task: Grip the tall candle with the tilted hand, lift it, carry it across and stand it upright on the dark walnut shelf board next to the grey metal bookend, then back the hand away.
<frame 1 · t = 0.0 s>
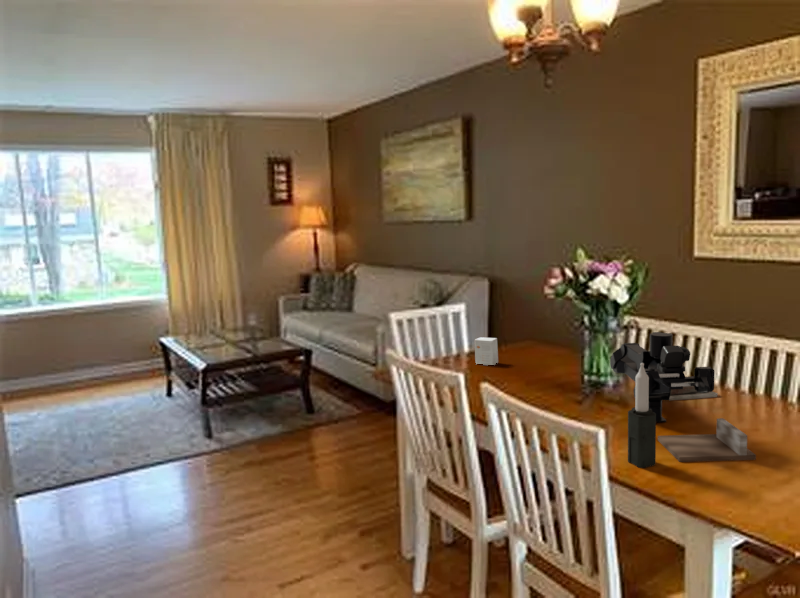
hand: (689, 389, 148), 17 cm above the table, tool horizontal, fingers open, 9 cm apart
candle: (641, 463, 146), on the table
shelf board: (704, 449, 152), on the table
small box: (486, 364, 247), on the table
packaged product: (682, 396, 196), on the table
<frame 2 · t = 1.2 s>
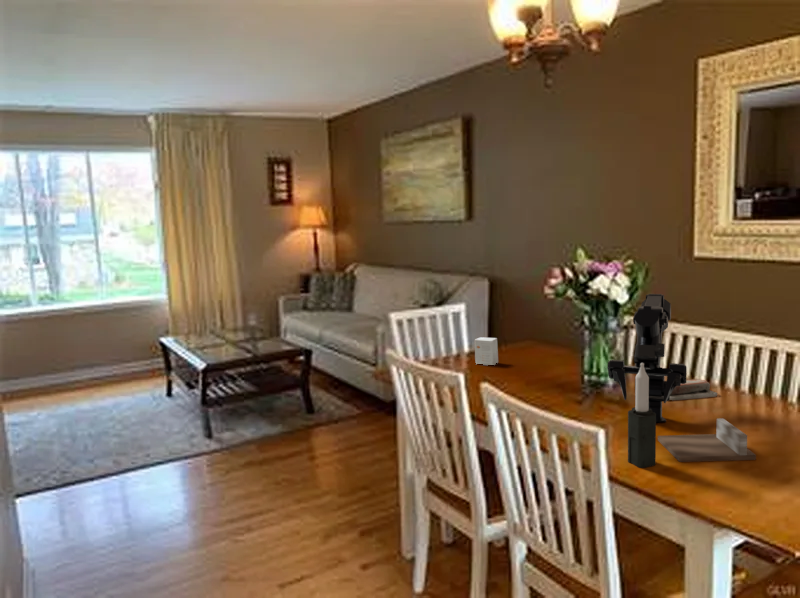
hand: (644, 400, 151), 13 cm above the table, tool tilted 45°, fingers open, 9 cm apart
nothing on the table moved.
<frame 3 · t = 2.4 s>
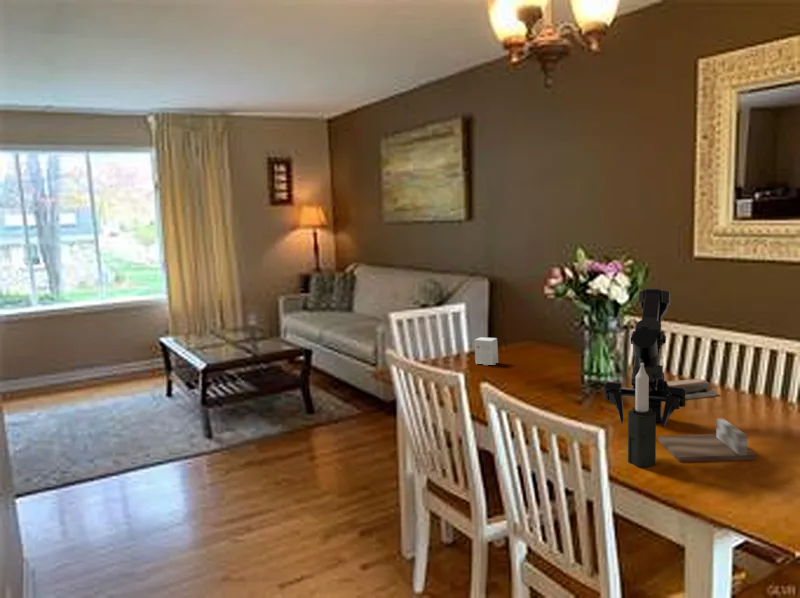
hand: (642, 424, 146), 9 cm above the table, tool tilted 45°, fingers open, 9 cm apart
nothing on the table moved.
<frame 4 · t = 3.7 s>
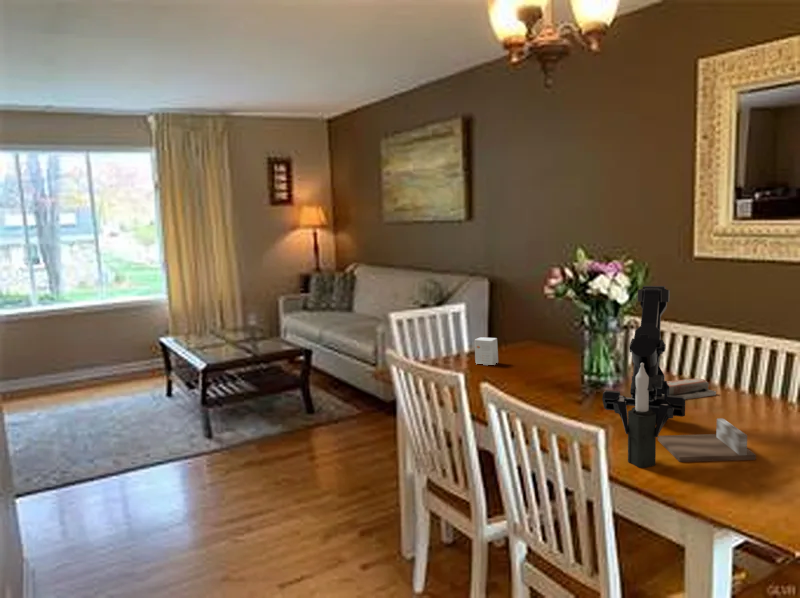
hand: (641, 434, 144), 8 cm above the table, tool tilted 45°, fingers closed on candle, 6 cm apart
candle: (641, 463, 146), on the table, touching gripper
everything else where it was.
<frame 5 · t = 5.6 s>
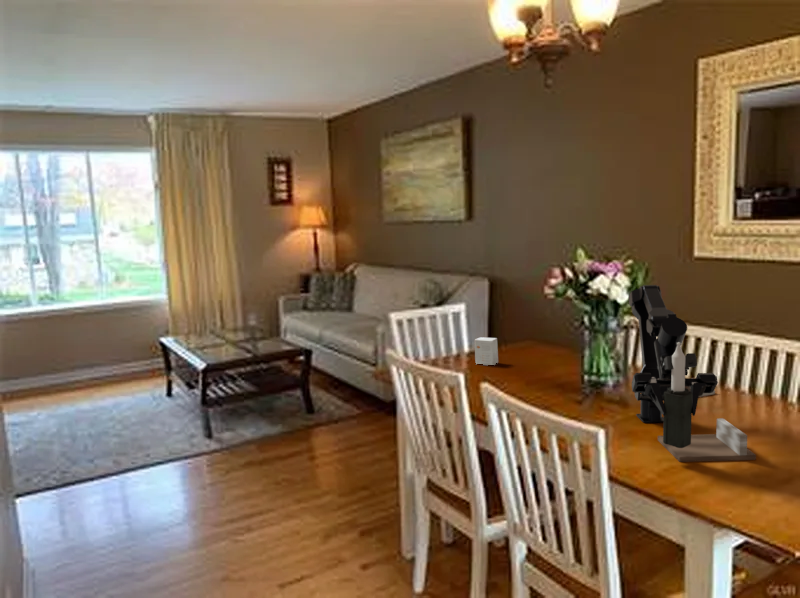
hand: (679, 414, 143), 12 cm above the table, tool tilted 45°, fingers closed on candle, 6 cm apart
candle: (676, 443, 145), point 4 cm above the table, touching gripper
when the fingers open (10 cm above the table, at t = 7.5 s): candle drops 1 cm, resting on shelf board.
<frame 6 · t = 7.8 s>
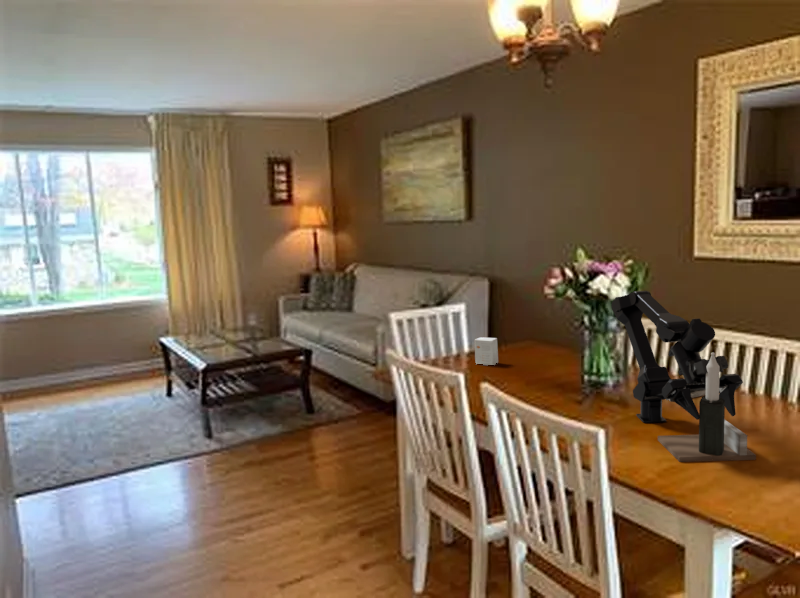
hand: (716, 417, 145), 10 cm above the table, tool tilted 45°, fingers open, 9 cm apart
candle: (711, 451, 148), point 1 cm above the table, touching shelf board
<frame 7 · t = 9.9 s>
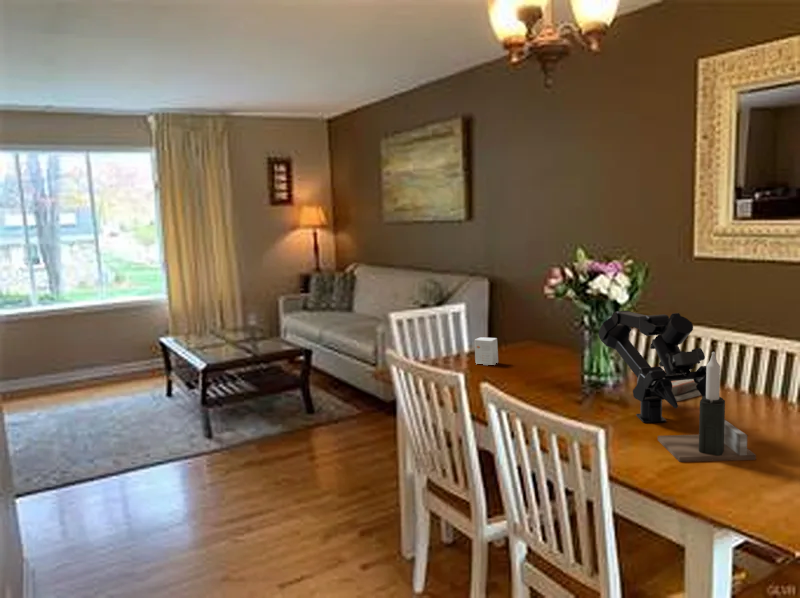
hand: (693, 406, 154), 10 cm above the table, tool tilted 45°, fingers open, 9 cm apart
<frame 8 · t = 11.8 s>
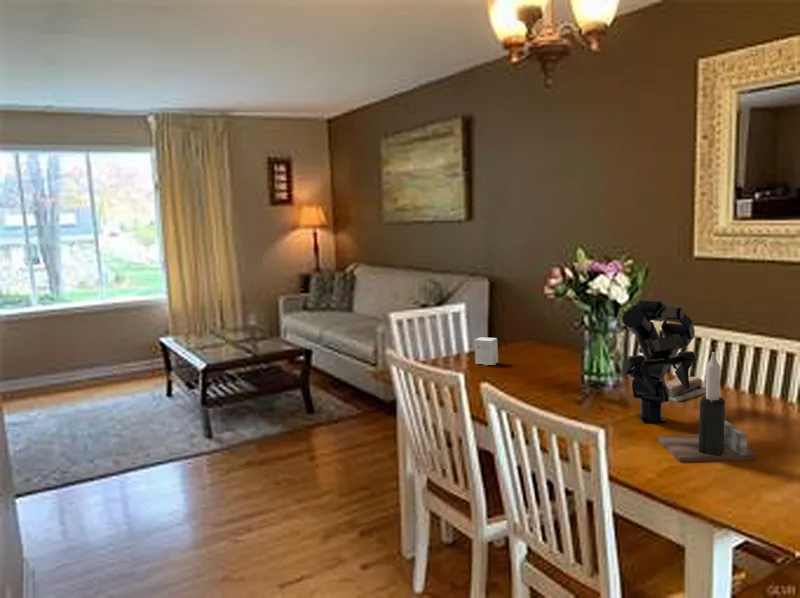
hand: (671, 390, 157), 14 cm above the table, tool tilted 45°, fingers open, 9 cm apart
at the end: candle 0.2 cm from the target spot on the shelf board, point 1.0 cm above the shelf board's base; candle tilted 0°; the gripper is holding nothing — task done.
